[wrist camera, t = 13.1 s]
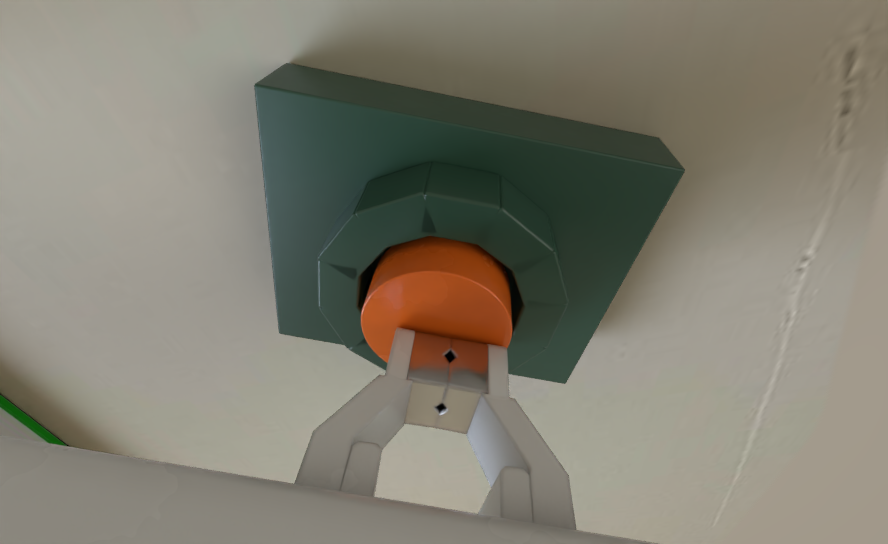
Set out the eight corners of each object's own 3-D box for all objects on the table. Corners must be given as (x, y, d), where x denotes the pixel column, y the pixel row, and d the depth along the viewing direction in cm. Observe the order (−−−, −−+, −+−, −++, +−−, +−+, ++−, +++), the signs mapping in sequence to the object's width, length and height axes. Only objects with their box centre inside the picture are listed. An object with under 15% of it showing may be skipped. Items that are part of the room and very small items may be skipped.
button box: (660, 137, 13) (715, 205, 10) (558, 341, 18) (572, 426, 15) (285, 62, 12) (216, 107, 9) (298, 295, 18) (258, 372, 15)
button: (526, 246, 12) (531, 288, 10) (491, 345, 14) (492, 390, 13) (379, 218, 12) (364, 258, 10) (369, 323, 14) (356, 366, 13)
